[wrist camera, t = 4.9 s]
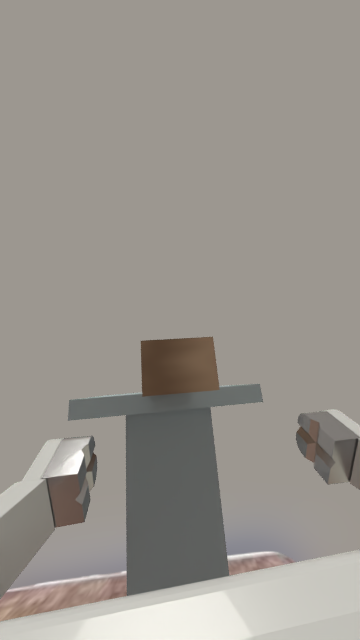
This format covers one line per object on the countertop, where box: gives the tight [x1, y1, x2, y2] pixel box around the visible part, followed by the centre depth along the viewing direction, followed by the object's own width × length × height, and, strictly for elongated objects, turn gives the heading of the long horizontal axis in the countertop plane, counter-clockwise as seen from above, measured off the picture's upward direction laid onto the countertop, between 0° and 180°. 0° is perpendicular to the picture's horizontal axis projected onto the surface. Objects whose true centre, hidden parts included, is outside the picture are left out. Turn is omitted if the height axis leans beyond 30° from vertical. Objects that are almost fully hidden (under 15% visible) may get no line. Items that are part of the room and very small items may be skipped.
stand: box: [68, 384, 263, 596], centre depth 21 cm, size 16×14×26 cm
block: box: [141, 337, 220, 397], centre depth 21 cm, size 4×22×2 cm, turn 6°
